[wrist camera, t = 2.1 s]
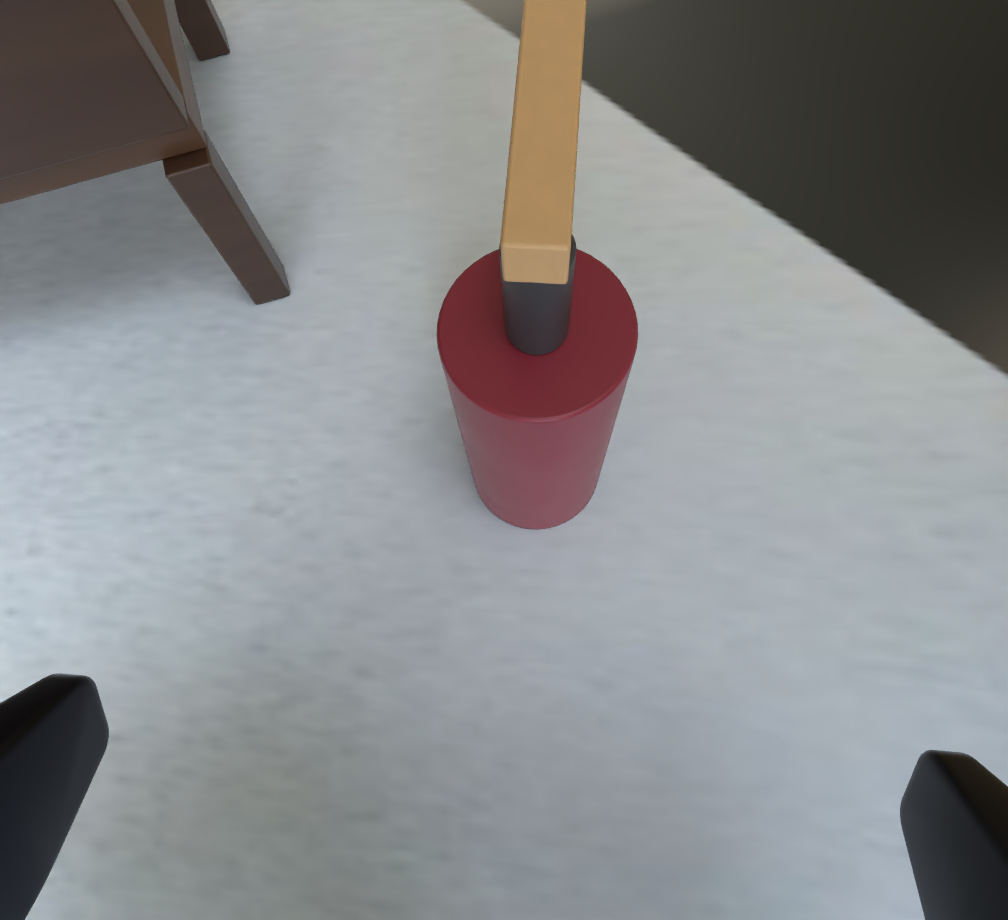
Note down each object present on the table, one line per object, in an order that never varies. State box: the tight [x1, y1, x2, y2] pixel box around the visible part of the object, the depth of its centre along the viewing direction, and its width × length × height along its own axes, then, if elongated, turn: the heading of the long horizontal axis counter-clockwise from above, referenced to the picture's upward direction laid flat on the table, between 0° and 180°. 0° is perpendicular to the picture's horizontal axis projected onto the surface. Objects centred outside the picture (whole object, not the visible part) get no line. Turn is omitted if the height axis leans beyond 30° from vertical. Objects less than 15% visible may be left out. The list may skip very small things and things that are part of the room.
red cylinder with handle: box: [437, 0, 638, 529], centre depth 17 cm, size 7×4×12 cm, turn 175°
